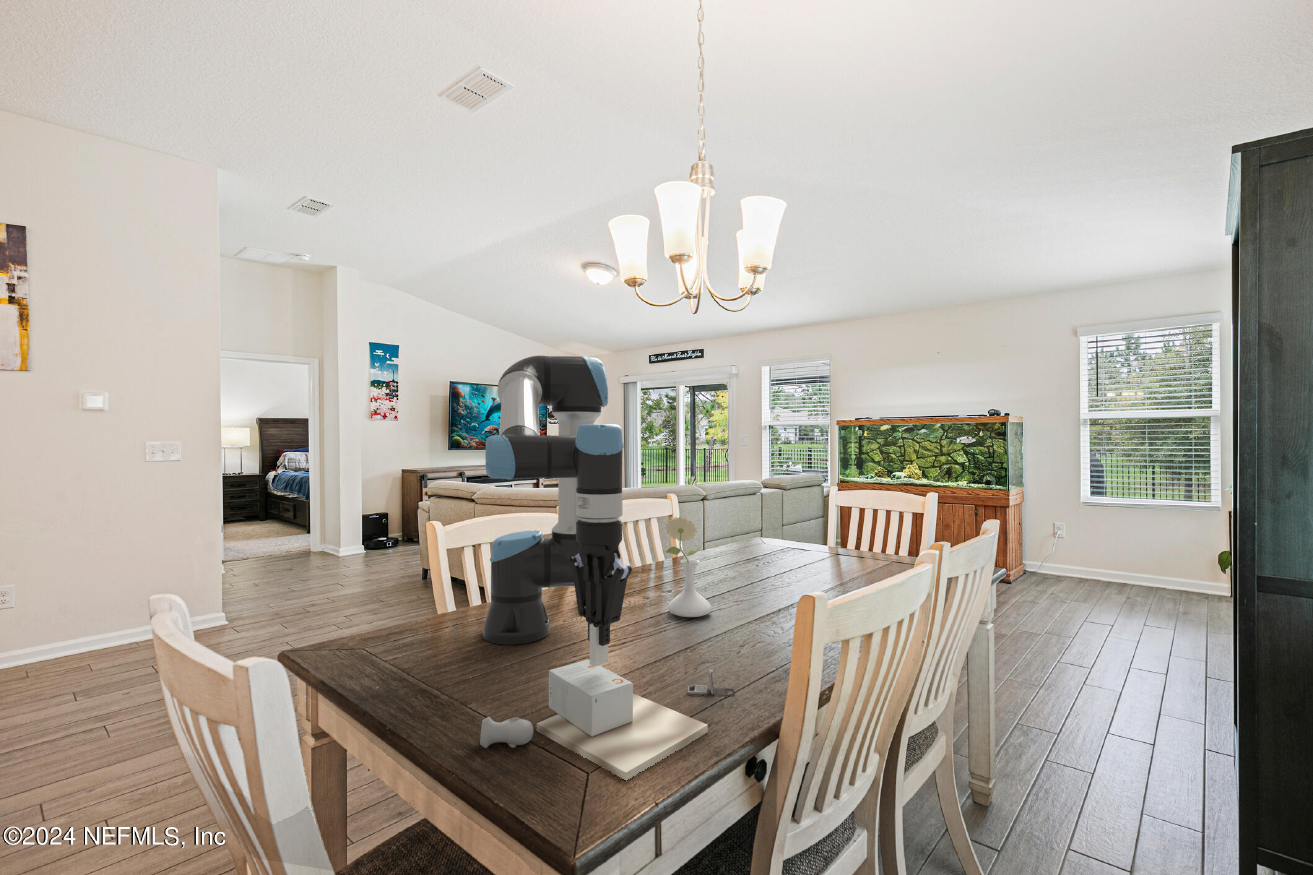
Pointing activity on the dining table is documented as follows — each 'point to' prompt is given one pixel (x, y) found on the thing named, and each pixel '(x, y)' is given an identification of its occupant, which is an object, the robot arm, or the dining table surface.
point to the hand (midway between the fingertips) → (598, 662)
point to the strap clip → (704, 689)
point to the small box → (591, 697)
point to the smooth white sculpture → (506, 732)
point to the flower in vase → (686, 572)
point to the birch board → (629, 738)
